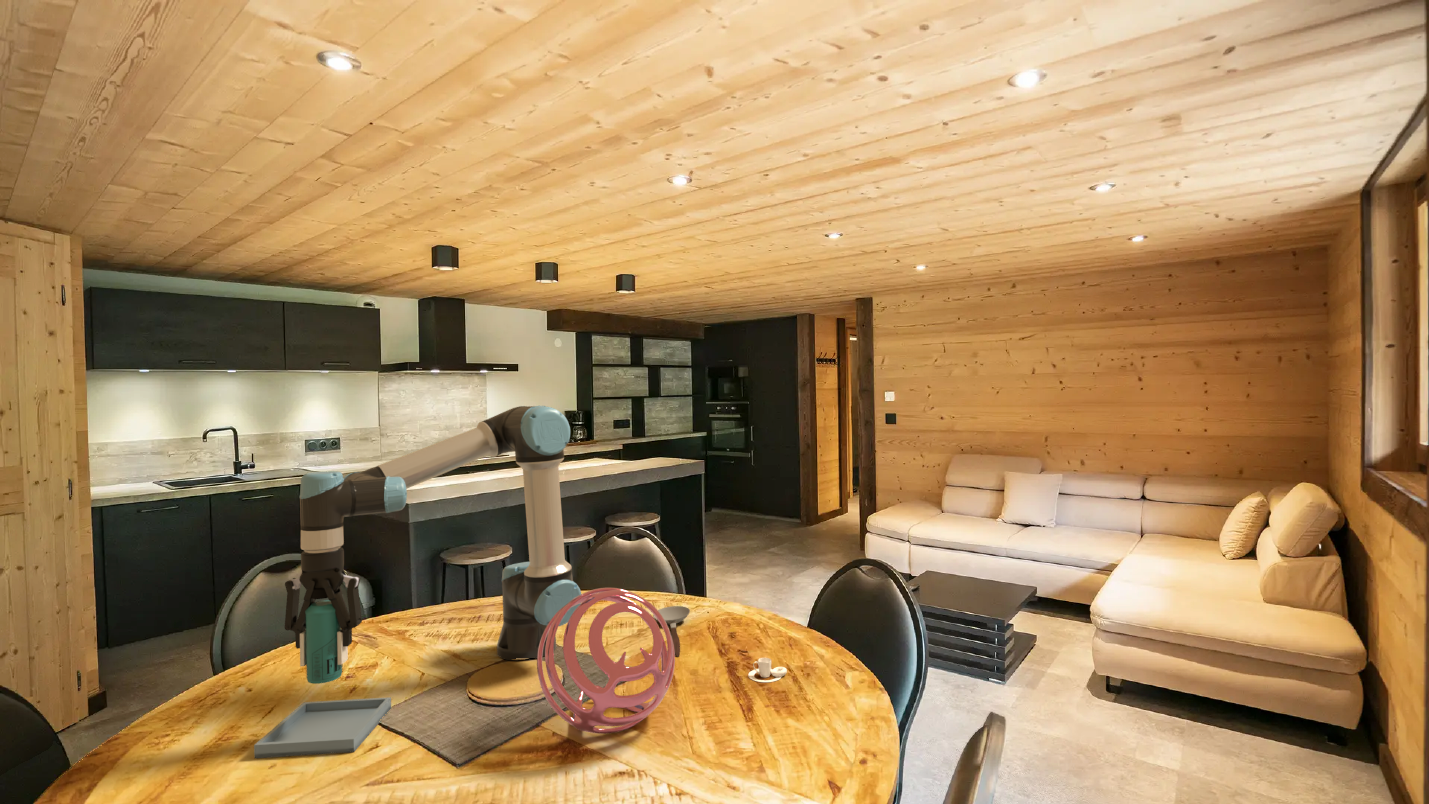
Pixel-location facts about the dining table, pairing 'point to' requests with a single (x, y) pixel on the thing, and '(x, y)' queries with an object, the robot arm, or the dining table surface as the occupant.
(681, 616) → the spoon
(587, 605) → the pink openwork sphere
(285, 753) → the tray
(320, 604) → the beverage bottle
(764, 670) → the teacup and saucer
